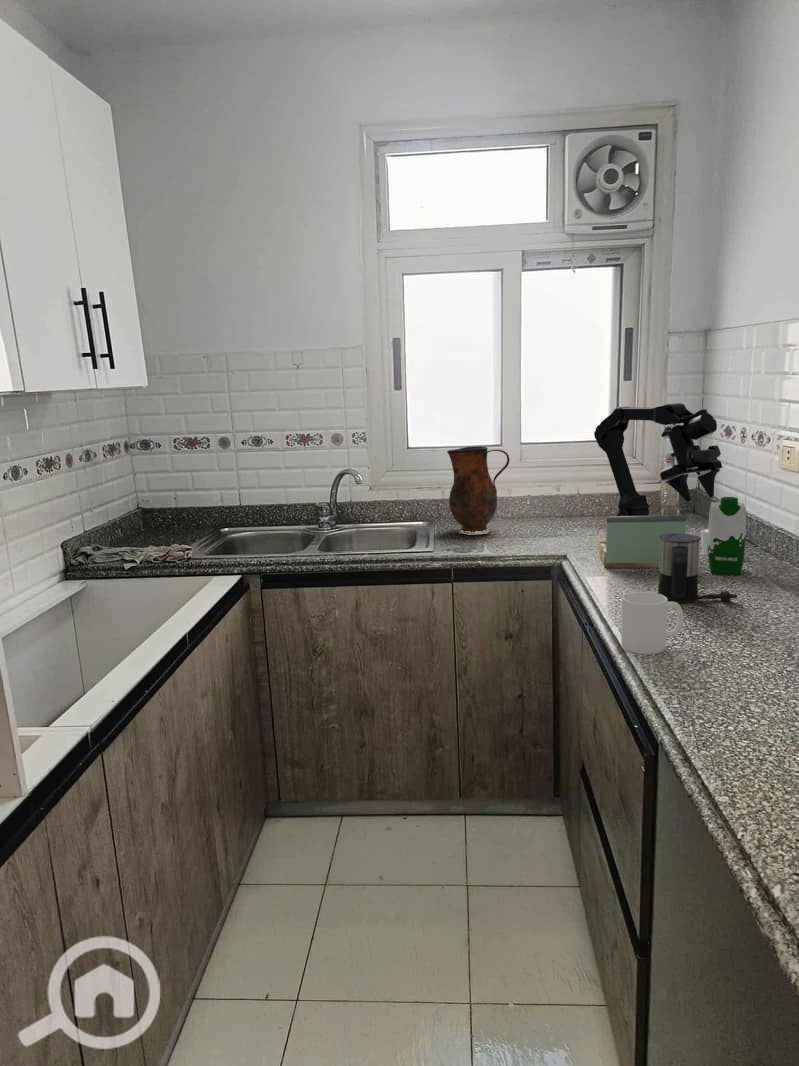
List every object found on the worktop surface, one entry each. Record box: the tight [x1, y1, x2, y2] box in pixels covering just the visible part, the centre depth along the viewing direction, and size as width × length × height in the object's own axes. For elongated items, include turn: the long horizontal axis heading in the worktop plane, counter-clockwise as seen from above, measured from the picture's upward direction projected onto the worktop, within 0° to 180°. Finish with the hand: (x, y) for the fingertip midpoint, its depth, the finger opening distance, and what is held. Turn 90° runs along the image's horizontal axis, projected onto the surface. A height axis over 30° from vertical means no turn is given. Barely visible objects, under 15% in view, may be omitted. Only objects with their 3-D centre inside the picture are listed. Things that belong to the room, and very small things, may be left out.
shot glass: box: [700, 528, 708, 557], centre depth 204 cm, size 7×7×7 cm
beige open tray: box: [599, 540, 660, 569], centre depth 200 cm, size 12×21×5 cm, turn 81°
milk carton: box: [707, 496, 747, 576], centre depth 185 cm, size 9×9×20 cm
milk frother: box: [657, 533, 738, 604], centre depth 164 cm, size 14×16×15 cm
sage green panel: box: [605, 514, 687, 563], centre depth 192 cm, size 2×20×13 cm, turn 81°
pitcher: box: [446, 445, 511, 532], centre depth 246 cm, size 17×21×30 cm
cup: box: [620, 591, 684, 656], centre depth 138 cm, size 8×12×10 cm
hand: (700, 499), depth 195 cm, fingers open, 9 cm apart
